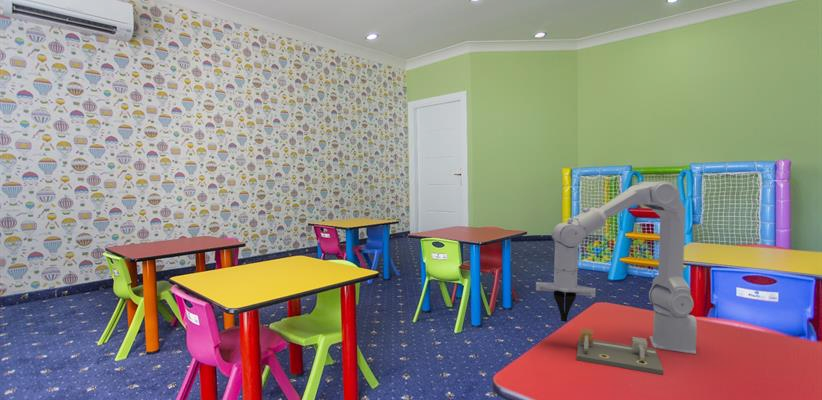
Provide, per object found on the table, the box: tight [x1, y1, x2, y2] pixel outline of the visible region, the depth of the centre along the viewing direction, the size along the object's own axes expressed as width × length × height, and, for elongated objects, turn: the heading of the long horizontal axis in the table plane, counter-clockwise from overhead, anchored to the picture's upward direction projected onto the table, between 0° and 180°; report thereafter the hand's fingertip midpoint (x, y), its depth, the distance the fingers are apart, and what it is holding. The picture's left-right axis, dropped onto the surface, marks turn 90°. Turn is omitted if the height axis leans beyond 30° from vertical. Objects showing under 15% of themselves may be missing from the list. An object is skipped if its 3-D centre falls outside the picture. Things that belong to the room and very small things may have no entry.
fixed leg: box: [631, 336, 648, 362], centre depth 99 cm, size 3×8×3 cm, turn 156°
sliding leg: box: [579, 327, 594, 353], centre depth 104 cm, size 3×8×3 cm, turn 156°
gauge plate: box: [576, 337, 664, 375], centre depth 102 cm, size 18×13×2 cm
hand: (564, 320), depth 108 cm, fingers closed
